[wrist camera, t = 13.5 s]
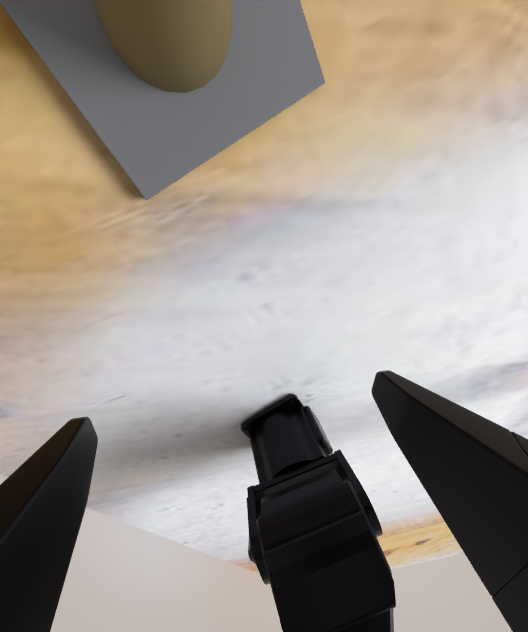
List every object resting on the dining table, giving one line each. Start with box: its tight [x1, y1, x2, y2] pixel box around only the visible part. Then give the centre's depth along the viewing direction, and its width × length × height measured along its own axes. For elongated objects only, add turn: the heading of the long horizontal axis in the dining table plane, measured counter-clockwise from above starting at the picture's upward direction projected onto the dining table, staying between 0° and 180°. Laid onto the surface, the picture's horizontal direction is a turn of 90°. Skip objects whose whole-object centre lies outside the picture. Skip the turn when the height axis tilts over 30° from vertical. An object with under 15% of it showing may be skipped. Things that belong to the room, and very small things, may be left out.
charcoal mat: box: [0, 0, 325, 200], centre depth 13 cm, size 12×12×1 cm
